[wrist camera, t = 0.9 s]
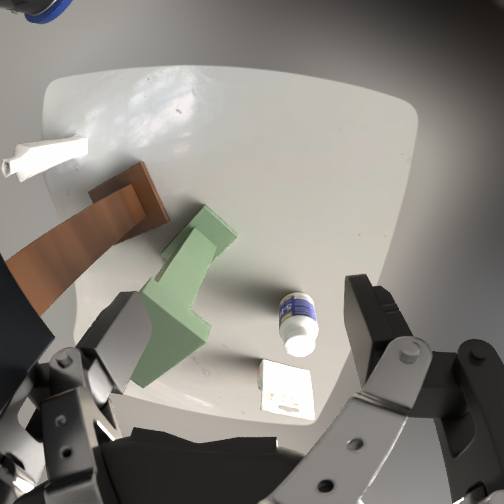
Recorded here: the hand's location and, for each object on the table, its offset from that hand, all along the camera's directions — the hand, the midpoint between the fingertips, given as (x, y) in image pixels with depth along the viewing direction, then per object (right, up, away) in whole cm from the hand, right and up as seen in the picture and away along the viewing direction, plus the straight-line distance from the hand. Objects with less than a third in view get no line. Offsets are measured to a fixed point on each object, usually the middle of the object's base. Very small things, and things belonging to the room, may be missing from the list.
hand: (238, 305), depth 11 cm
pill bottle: (+7, -6, +33) cm, 34 cm away
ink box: (+6, -19, +39) cm, 44 cm away
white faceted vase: (-25, +17, +25) cm, 39 cm away
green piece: (-7, +3, +30) cm, 31 cm away
